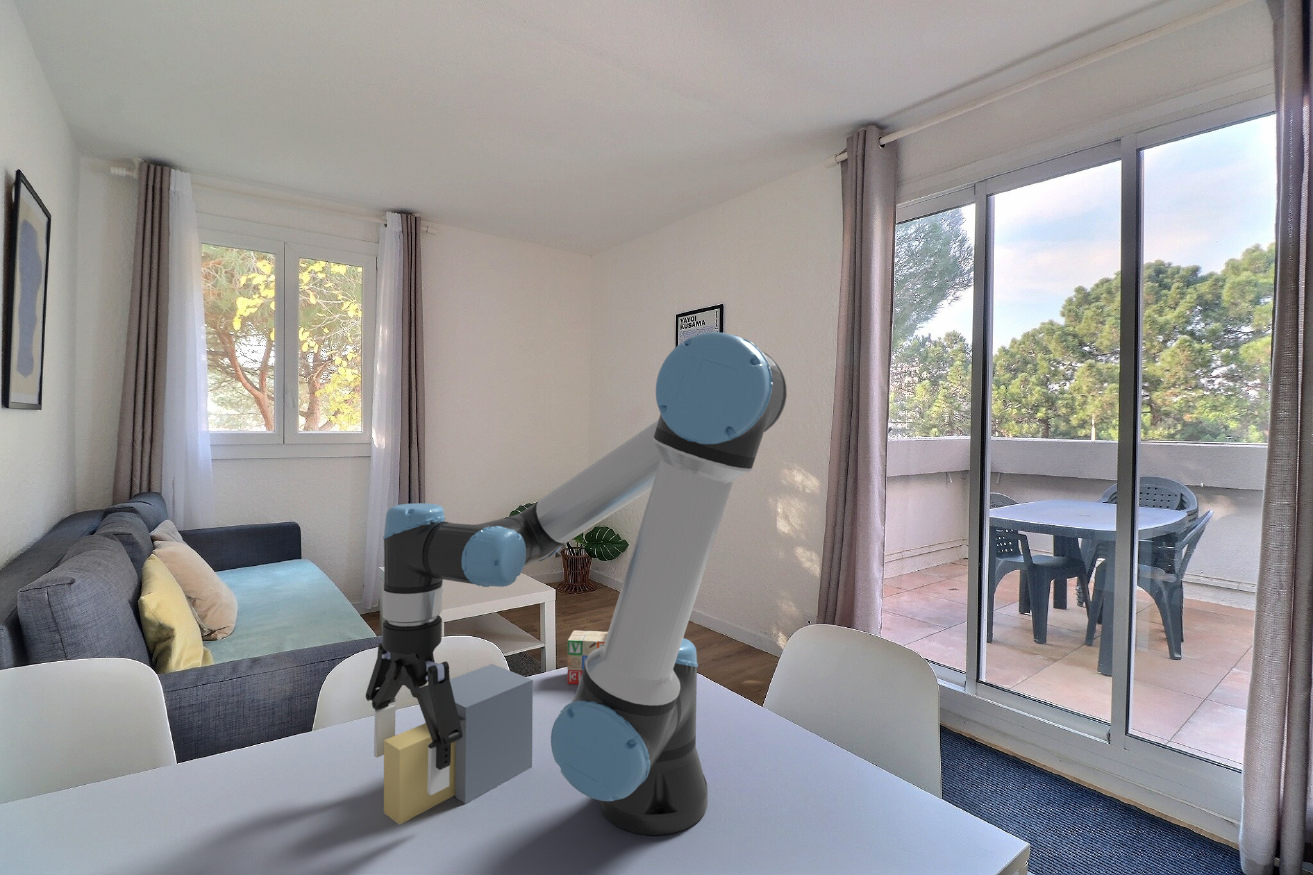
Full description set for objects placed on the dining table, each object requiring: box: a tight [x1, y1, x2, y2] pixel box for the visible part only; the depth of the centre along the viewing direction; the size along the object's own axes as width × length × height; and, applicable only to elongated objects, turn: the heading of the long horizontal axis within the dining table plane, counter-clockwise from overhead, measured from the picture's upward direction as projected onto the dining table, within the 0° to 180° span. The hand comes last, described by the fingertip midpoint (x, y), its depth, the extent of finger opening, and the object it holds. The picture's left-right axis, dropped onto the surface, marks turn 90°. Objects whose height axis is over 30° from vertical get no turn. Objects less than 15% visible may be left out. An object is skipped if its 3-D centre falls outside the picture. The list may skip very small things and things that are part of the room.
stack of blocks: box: [566, 629, 608, 685], centre depth 127 cm, size 21×6×12 cm, turn 86°
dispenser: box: [424, 663, 534, 805], centre depth 92 cm, size 10×13×14 cm
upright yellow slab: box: [383, 723, 456, 826], centre depth 87 cm, size 4×14×10 cm, turn 142°
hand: (410, 770), depth 84 cm, fingers open, 13 cm apart
